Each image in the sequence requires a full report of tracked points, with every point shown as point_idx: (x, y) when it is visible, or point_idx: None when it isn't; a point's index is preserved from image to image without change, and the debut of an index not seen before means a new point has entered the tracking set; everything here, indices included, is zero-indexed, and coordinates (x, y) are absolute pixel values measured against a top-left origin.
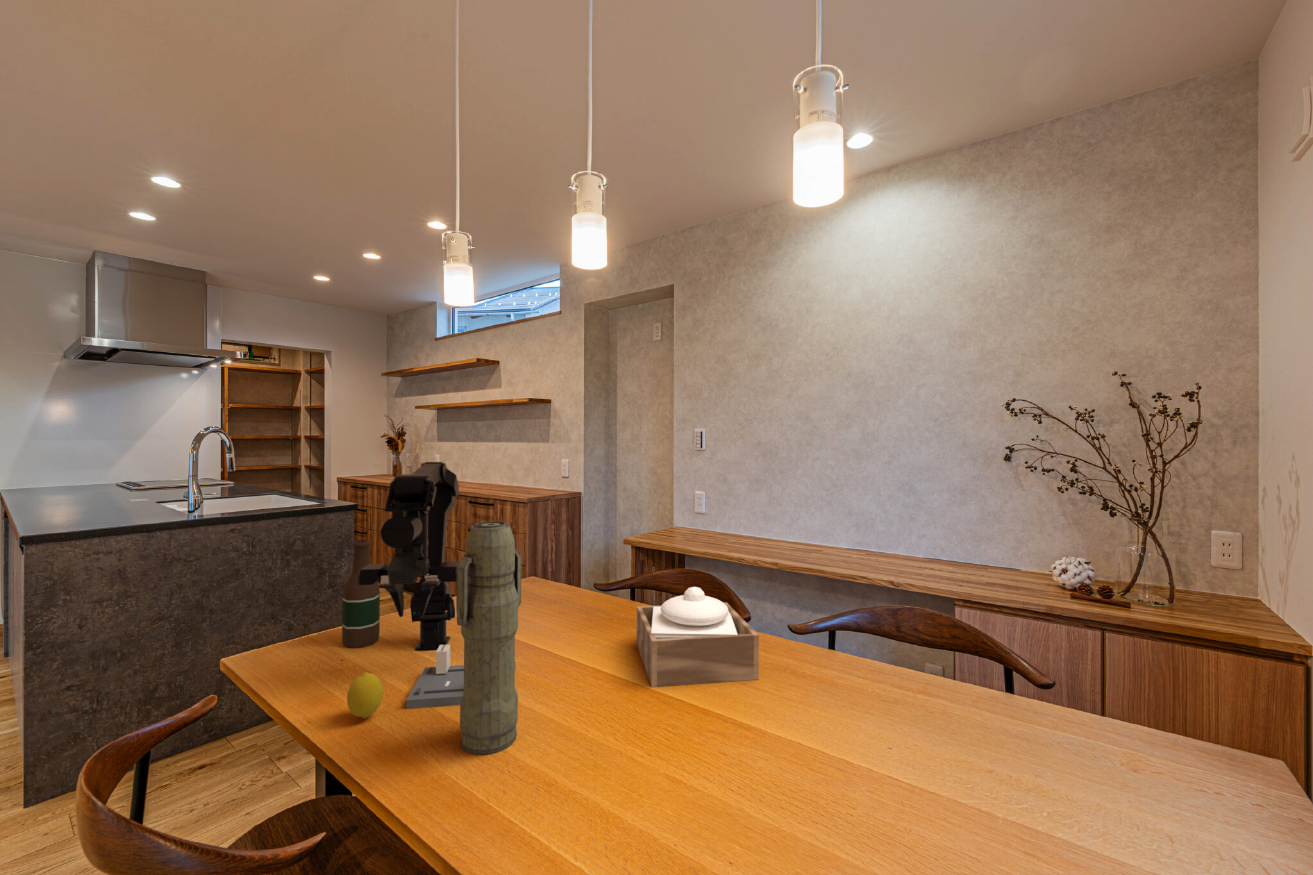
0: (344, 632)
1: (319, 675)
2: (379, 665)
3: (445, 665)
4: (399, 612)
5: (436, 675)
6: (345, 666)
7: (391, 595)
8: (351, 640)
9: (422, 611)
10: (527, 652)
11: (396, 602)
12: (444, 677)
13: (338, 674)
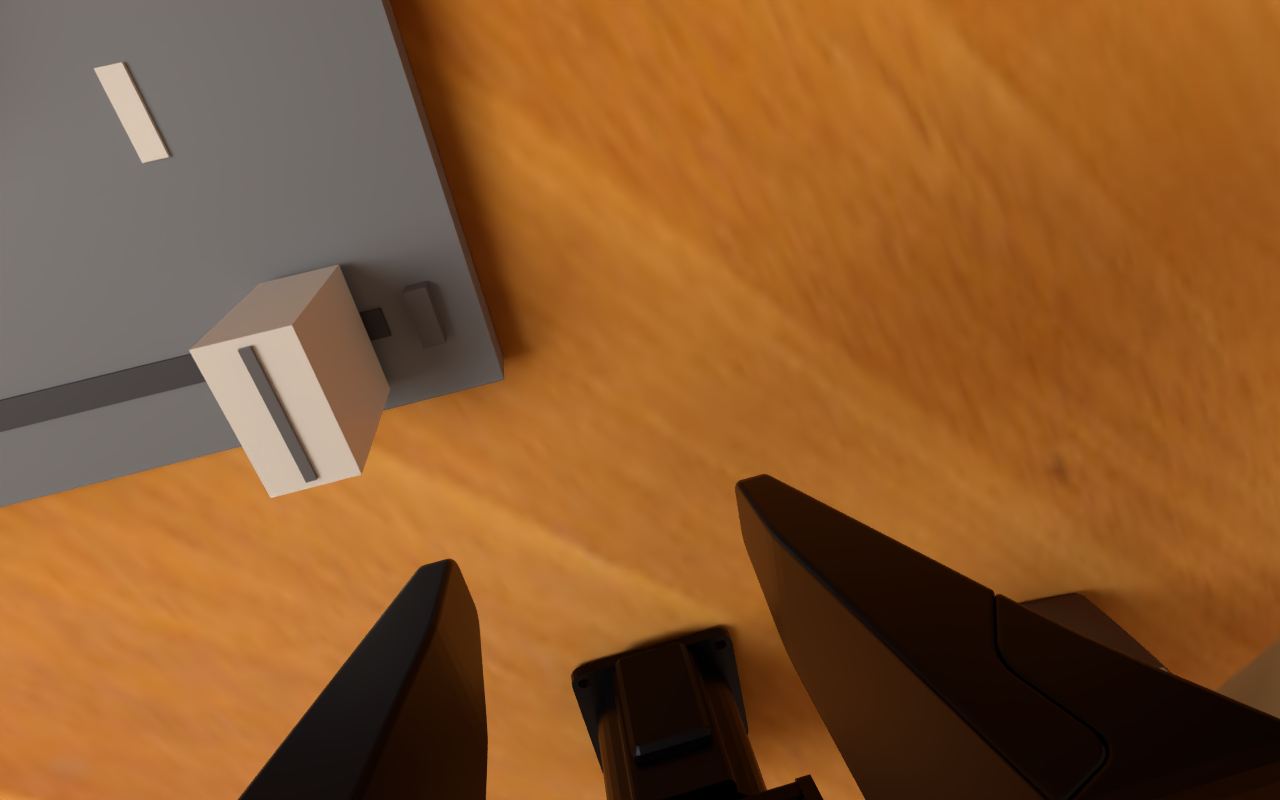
0: (1153, 657)
1: (1122, 285)
2: (842, 441)
3: (246, 302)
4: (788, 504)
5: (336, 262)
6: (1020, 406)
7: (1191, 692)
8: (1086, 621)
9: (405, 606)
10: (10, 722)
11: (929, 599)
12: (248, 235)
13: (1025, 308)
